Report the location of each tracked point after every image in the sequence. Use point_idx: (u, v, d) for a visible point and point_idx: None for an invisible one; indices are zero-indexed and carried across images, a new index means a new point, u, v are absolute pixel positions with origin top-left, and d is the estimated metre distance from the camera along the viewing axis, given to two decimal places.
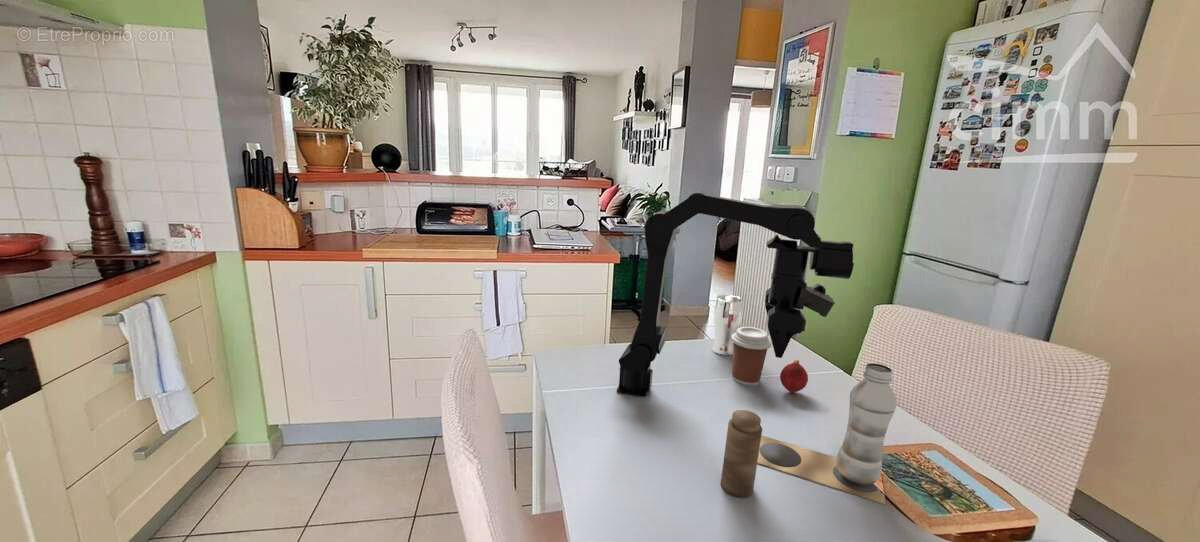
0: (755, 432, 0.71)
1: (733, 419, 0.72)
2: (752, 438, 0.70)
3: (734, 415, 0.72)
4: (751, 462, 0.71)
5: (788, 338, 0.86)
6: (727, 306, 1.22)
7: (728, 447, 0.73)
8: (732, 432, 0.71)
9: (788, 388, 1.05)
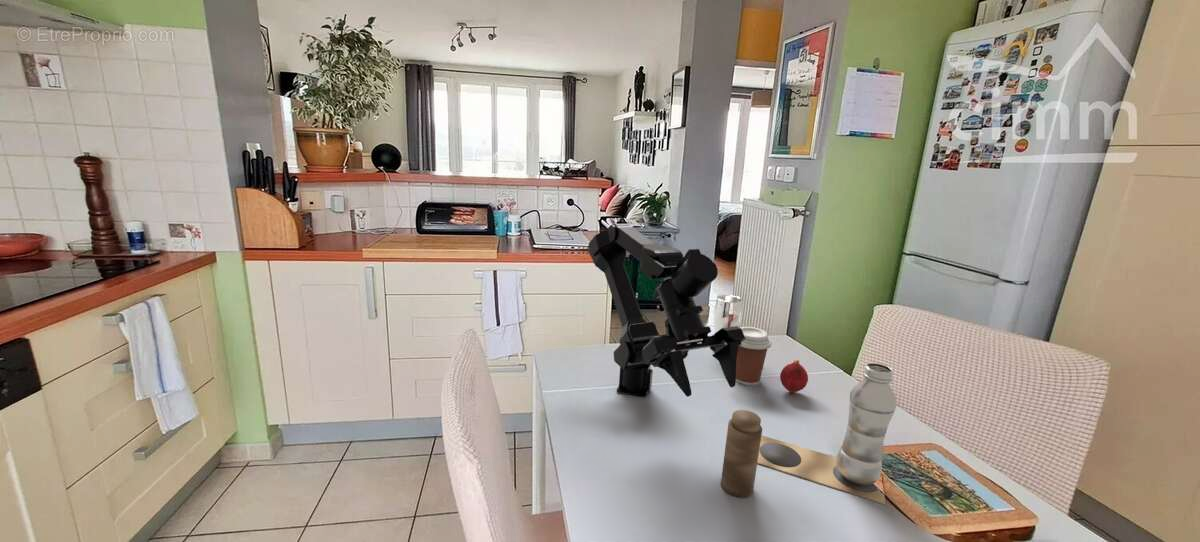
0: (755, 432, 0.71)
1: (733, 419, 0.72)
2: (752, 438, 0.70)
3: (734, 415, 0.72)
4: (751, 462, 0.71)
5: None
6: (727, 306, 1.22)
7: (728, 448, 0.73)
8: (732, 432, 0.71)
9: (788, 388, 1.05)
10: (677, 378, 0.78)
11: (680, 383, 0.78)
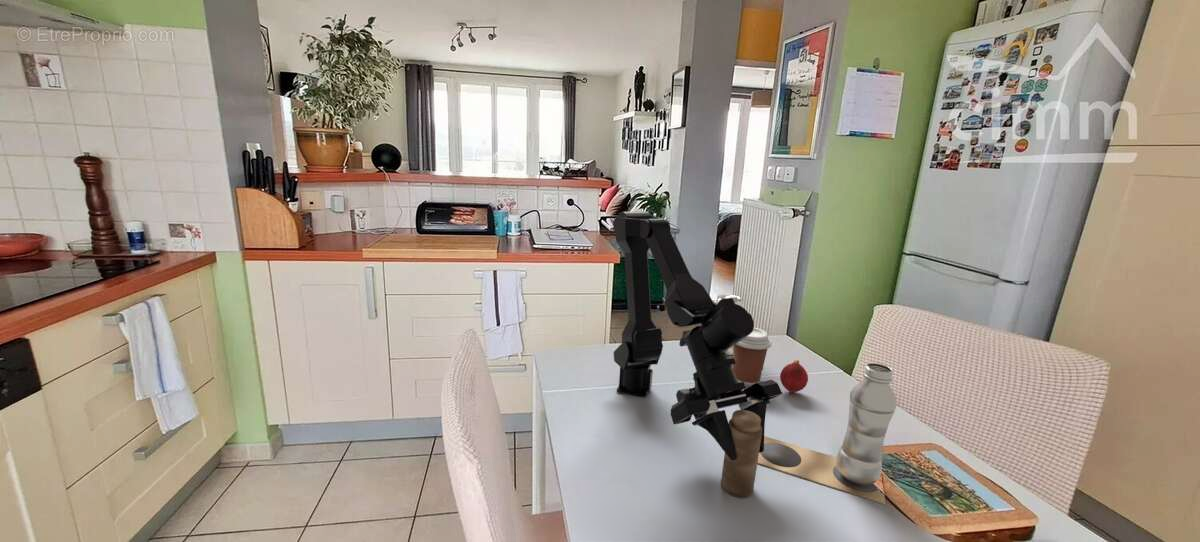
0: (755, 432, 0.71)
1: (733, 419, 0.72)
2: (752, 438, 0.70)
3: (734, 415, 0.72)
4: (751, 462, 0.71)
5: None
6: None
7: None
8: (732, 432, 0.71)
9: (788, 388, 1.05)
10: (720, 440, 0.72)
11: (724, 445, 0.72)
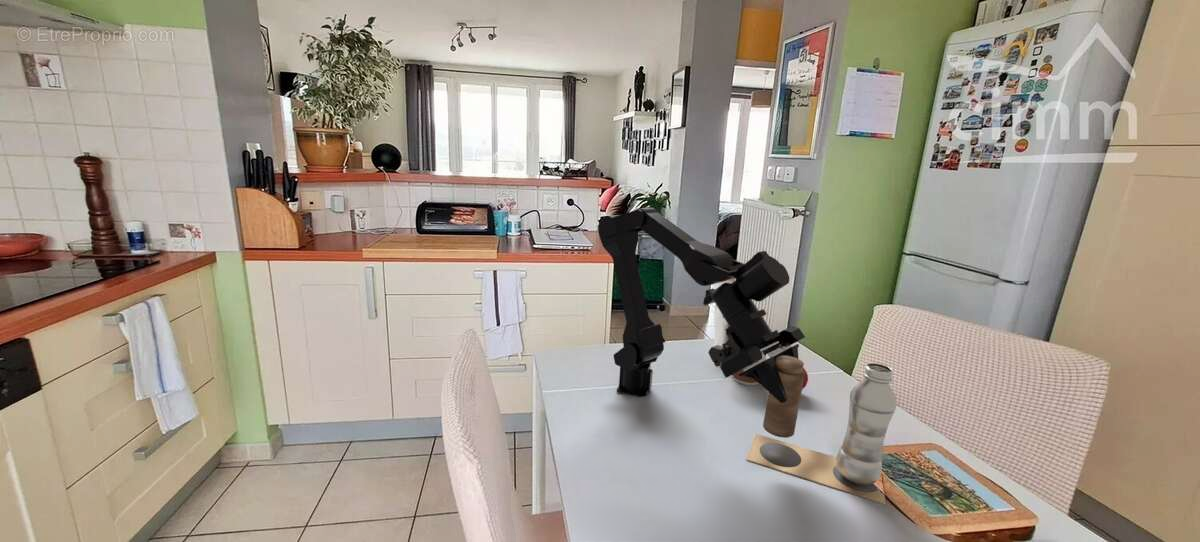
0: (801, 373, 0.75)
1: (780, 364, 0.76)
2: (800, 378, 0.75)
3: (779, 360, 0.76)
4: (798, 402, 0.76)
5: None
6: None
7: None
8: (781, 376, 0.75)
9: None
10: (770, 385, 0.76)
11: (774, 390, 0.75)
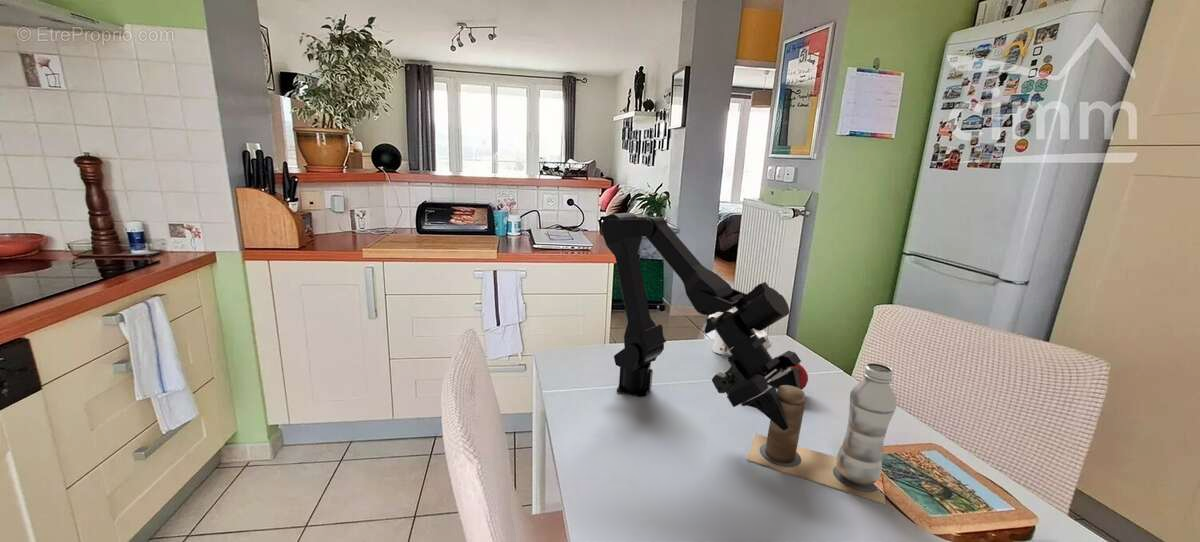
0: (802, 402, 0.79)
1: (783, 395, 0.79)
2: (802, 408, 0.79)
3: (781, 391, 0.80)
4: (799, 429, 0.80)
5: None
6: None
7: None
8: (784, 406, 0.79)
9: None
10: (772, 414, 0.78)
11: (776, 418, 0.78)
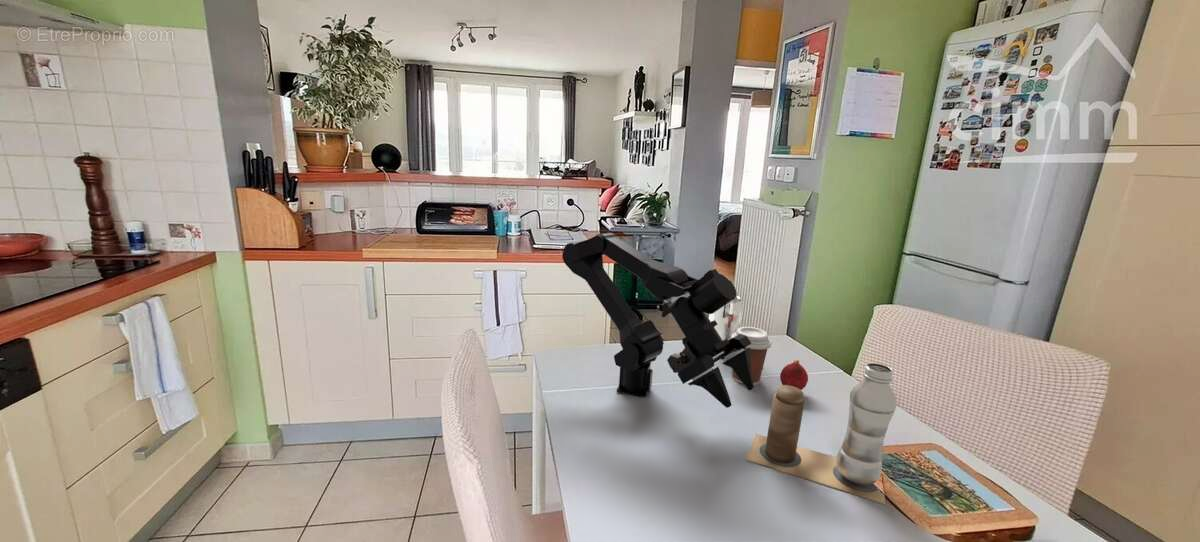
0: (801, 402, 0.80)
1: (781, 395, 0.80)
2: (801, 407, 0.79)
3: (780, 391, 0.80)
4: (798, 429, 0.80)
5: None
6: (727, 306, 1.22)
7: (777, 421, 0.80)
8: (783, 406, 0.79)
9: None
10: (716, 392, 0.84)
11: (720, 396, 0.84)
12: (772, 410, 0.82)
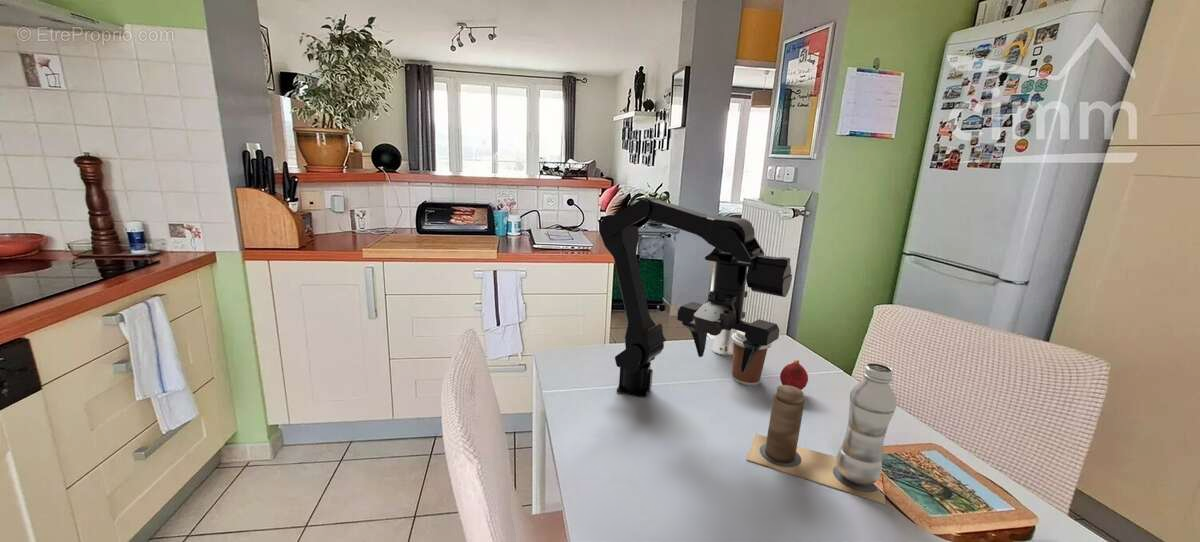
0: (801, 402, 0.80)
1: (782, 395, 0.80)
2: (801, 408, 0.79)
3: (780, 391, 0.80)
4: (798, 429, 0.80)
5: None
6: None
7: (777, 421, 0.80)
8: (783, 406, 0.79)
9: None
10: (751, 357, 0.87)
11: (749, 361, 0.87)
12: (772, 410, 0.82)
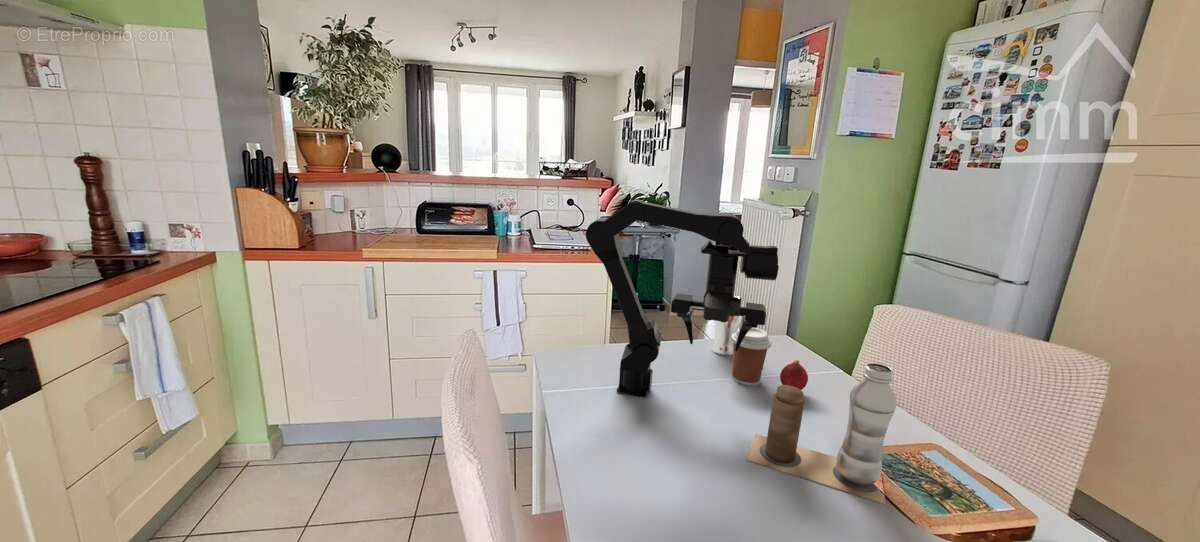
0: (801, 402, 0.80)
1: (782, 395, 0.80)
2: (801, 407, 0.79)
3: (780, 391, 0.80)
4: (798, 429, 0.80)
5: None
6: None
7: (777, 421, 0.80)
8: (783, 406, 0.79)
9: None
10: None
11: None
12: (772, 410, 0.82)
